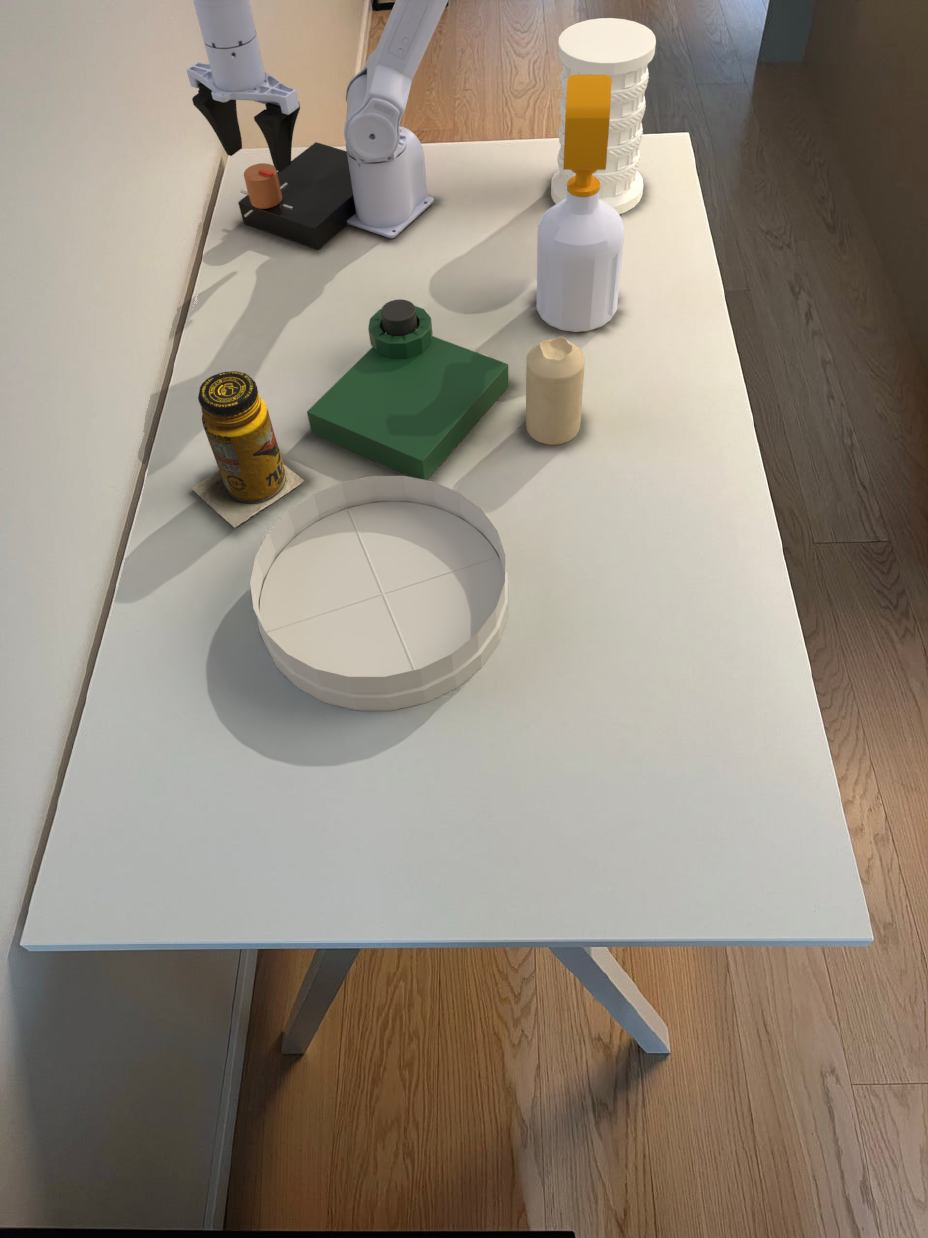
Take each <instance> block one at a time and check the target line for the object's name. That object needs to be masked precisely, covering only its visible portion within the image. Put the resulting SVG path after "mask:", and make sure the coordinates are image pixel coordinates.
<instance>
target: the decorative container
mask: <svg viewBox="0 0 928 1238" xmlns="http://www.w3.org/2000/svg"><path fill="white" fill-rule="evenodd" d="M557 45H558V46H557V47H558V48H557V57H558V58H559V61H560V62H561V63H562V64H563V65H562V66H563V67H562V68H561V72H560V75H559V82H560V88H561V90H562V93H561V94H562V95H561V97H560V99H559V103H558V110H559V116H560V118H561V120H560V121H561V122H560V124H559V127H558V132H557V135H558V142H559V144H560V148H559V149H558V154H557V158H556V161H557V166H558V170H556V171H555V172H554V174H553V176H552V178H551V180H550V181H551V183H550V184H551V185H550V197H551V199H552V201H553V202H554V204H555V205H556V204H557V203H559V202H560V201H562V200H565V199H567V182H568V180H569V179H570V178H571V177H573V176H576V173H574V172H573V171H572V170H563V166H564V139H565V114H566V96H567V80H568V78H569V77H570V76H572V75H608V76H610V78H611V103H610V120H609V134H608V147H607V160H606V170H597V171H596V172H595V173H593V175H592V176H594V177H596V178H597V179H599V182H600V192H599V200H602V201H604V202H605V203H607V204H608V205H610V206H611V207H612V208H614V209H615V210H617V212H618V213H619V215H621V214H625V213H627V212H629V211H630V210H631V209H634V208H635V207H636V206H637V205H638V204H639V203H640V201H641V199H642V197H643V194H644V193H643V192H644V178H643V176H642V175H641V173H640V172H639V170H638V169H639V167H640V164H641V162H640V161H641V154H640V145H641V143H642V139H643V135H644V132H643V131H644V129H643V123H642V121H643V118H644V115H645V112H646V107H647V105H646V96H645V92H646V90H647V87H648V83H649V79H650V76H649V68H648V65H649V63H650V62H651V61H653V58H654V57H655V55H656V45H657V39H656V35H655V34H654V32H653V30H652V29H650V28H649V27H648V26H646V25H644V24H642V23H639V22H637V21H633V20H629V19H625V18H616V17H615V18H614V17H606V18H605V17H601V18H600V17H599V18H591V19H586V20H584V21H579V22H577V23H574V24H572V25H570V26H568V27H566V28H565V29H563V31H561V33H560V35H559V37H558V43H557Z"/></svg>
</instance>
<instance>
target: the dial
mask: <svg viewBox="0 0 928 1238" xmlns="http://www.w3.org/2000/svg"><path fill="white" fill-rule="evenodd" d="M277 172H278V171H276V169H275V167H274V164H270V163H265V162H263V163H262V162H261V163H255V164H252V165H250V166H248V167H247V168H246V169H245V170H244V172H243V178H244V182H245V186H246V190H247V192H248V195H249V199H250V203H251V205H252V206H254V207H256V208H260V209H267V208H272V207H274V206H276V205H278V204H279V203H280V202H281V201H282V193H281V188H280V184H279V179H278V174H277Z"/></svg>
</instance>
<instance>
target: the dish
mask: <svg viewBox="0 0 928 1238" xmlns="http://www.w3.org/2000/svg"><path fill="white" fill-rule="evenodd" d="M250 576H251V577H250V582H249V584H250V585H249V586H250V593H251V600H252V609H253V611H254V613H255V616H256V618H257V625H258V631H259V632H260V635H261V638H262V640H263V643H264V645H265V647H266V649H267V651H268V652H269V655H270V657H271V659H272V661H273V664H274V665H275V667H276V668H277V669H278V671H279V672H281V673H282V674H283V676H285V677H286V678H287V680H289V681H290V683H292V684H293V685H294V686H295V687H296V688H297V689H299V690H300V691H302V692H304V693H306V694H308V695H309V696H311V697H313V698H315V699H317V700H319V701H320V702H323V703H325V704H329V705H333V706H337V707H341V708H345V709H349V710H352V711H353V710H354V711H375V712H376V711H377V712H378V711H379V712H380V711H383V712H385V711H387V712H390V711H392V712H393V711H396V710H400V709H405V708H410V707H413V706H414V707H415V706H418V705H423V704H426V703H427V704H428V702H431V701H433V700H435V699H437V698H439V697H441V696H444V694H448V693H450V692H452V691H453V690H456V689H457V688H459V687H460V686H461V685H462V684H464V683H465V682H466V681H467V680H468V679H470V678H471V677H472V676H473V675H474V674H476V673H477V672H478V671H479V670H480V669H482V668H483V666H484V665H485V663H486V662H487V661H488V659H489V657H490V656H491V655H492V654H493V652H494V651H495V649H496V648H497V646H498V645H499V644H500V642H501V638H502V635H503V632H504V629H505V627H506V624H507V620H508V617H509V574H508V572H507V568H506V553H505V549H504V546H503V543H502V540H501V537H500V534H499V531H498V529H497V528H496V527H495V525H494V524H493V523H492V521H491V520H490V519H489V517H488V516H487V514H486V513H485V512H484V511H483V509H482V508H481V507H479V506H478V505H476V504H475V503H474V502H472V501H471V500H470V499H468V498H467V497H466V496H465V495H463V494H462V493H460V492H459V491H456V490H454V489H452V488H450V487H447V486H445V485H442V484H440V483H438V482H435V481H433V480H429V479H428V480H423V479H418V478H413V477H410V476H408V475H372V476H371V475H370V476H366V477H361V478H356V479H351V480H346V481H342V482H339V483H336V484H334V485H332V486H330V487H327V488H325V489H322V490H320V491H318V492H314V493H313V494H311V495H310V496H308V497H307V498H305V499H303V500H302V501H301V502H299V503H298V504H297V505H295V506H294V507H292V508H290V509H289V510H287V512H286V513H285V514H283V516H282V517H281V518H280V519H279V520H278V521H277V522H276V524H274V526H273V527H272V528H270V530H269V531H268V532H267V534H266V536H265V537H264V540H263V542H262V543H261V545H260V547H259V549H258V551H257V553H256V555H255V556H254V562H253V566H252V572H251V575H250Z"/></svg>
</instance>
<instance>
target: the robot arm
mask: <svg viewBox="0 0 928 1238" xmlns="http://www.w3.org/2000/svg"><path fill="white" fill-rule="evenodd" d="M192 1H193V6H194V9H195V13H196V17H197V22H198V24H199V28H200V32H201V36H202V40H203V44H204V48H205V52H206V55H207V59H208V63H203V62H196V63H194V64H193V65H191V66H189V67H188V68H186V73H187V77H188V80H189V84H190V87H192V88H195V89H198V90H197V92H198V93H197V94H195V95H194V96H192V98H191V101H192V104H193V106H194V107H195V108H196V109H197V110H198V111H199V112H200V113H201V115H202V116H203V117H204V118H205V119H206V120H207V123H208V124H209V125H210V126H211V128H212V130H213V131H214V133H215V135H216V137H217V138H218V140H219V142H220V144H221V147H222V148H223V149H224V151H225V153H226V155H227V156H229V157H233V156H234V155H236V154H237V153H238V152H239V151H241V150H242V149H243V140H242V135H241V129H240V123H239V118H238V111H237V101H249V102H255V103H259V104H263V105H265V108H264V109H263V110H261V111H260V112H258V113H257V114H256V115H254V116H253V119H254V122H255V123H256V125H257V127H258V128H259V129H260V131H261V133H262V135H263V137H264V140H265V141H266V145H267V147H268V151H269V153H270V158H271V162H272V165H273V166H274V167H275V169H276V171H277V172H278V171H279V172H282V171H283V170H284V169H286V168H287V167H288V166H289V165H291V161H292V150H293V149H292V146H293V136H294V130H295V126H296V122H297V119H298V115H299V113H300V110H301V104H300V101H299V98H298V92H297V89H296V88H293V87H290V86H288V85H286V84H284V83H283V82H281V80H279V79H277V78H276V77H274V76H273V75H271V74H270V73H269V72H267V71H265V67H264V61H263V58H262V53H261V48H260V43H259V40H258V39H259V38H258V33H257V30H256V25H255V20H254V16H253V12H252V6H251V2H250V0H192ZM448 2H449V0H395V2H394V4H393V7H392V8H391V11H390V14H389V16H388V19H387V21H386V23H385V26H384V28H383V30H382V33H381V35H380V38H379V40H378V42H377V45H376V47H375V49H374V50H373V51H372V52H371V53H370V54H369V55H368V57H367V60H366V63H365V64H364V66H363V68H362V69H361V70H360V71H358V72H357V73H356V74H355V75H354V76H353V77H352V78H351V79H350V80H349V82H348V84H347V87H346V89H345V90H346V91H345V101H346V116H345V117H346V118H345V124H344V130H343V131H344V132H343V136H344V141H345V151H347V157H348V164H349V170H350V177H351V184H352V190H353V197H354V203H355V210H356V213H355V214H354V215H353V216H352V217H351V218H350V219H348V220H347V224H348V225H349V226H352V227H356V228H359V229H362V230H365V231H367V232H371V233H373V234H376V235H379V236H383V237H386V238H389V239H395V238H396V237H397V236H398V235H399V234H400V233H401V232H402V231H403V230H404V229H406V228H407V227H408V226H409V225H410V224H411V223H412V222H413V221H414V220H416V219H417V218H418V217H419V216H420V215H421V214H422V213H423V212H424V211H426V209H428V208H430V206H431V205H432V204H433V203H434V202H435V201H434V197H433V196H429V195H428V183H427V171H426V160H425V159H426V158H425V151H424V147H423V144H422V143H421V141H420V140H419V139H420V138H418V137H417V135H416V134H415V133H414V132H413V131H411V130H410V129H409V128H406V127H404V126H401V121H402V118H403V115H404V114H405V111H406V108H407V103H408V100H409V95H410V92H411V88H412V87H411V86H412V82H413V80H414V77H415V76H416V73H417V71H418V69H419V66H420V64H421V62H422V59H423V58H424V55H425V54H426V51H427V49H428V46H429V44H430V42H431V40H432V37H433V35H434V33H435V31H436V29H437V26H438V24H439V22H440V20H441V17H442V16H443V13H444V11H445V9H446V7H447V4H448Z"/></svg>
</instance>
